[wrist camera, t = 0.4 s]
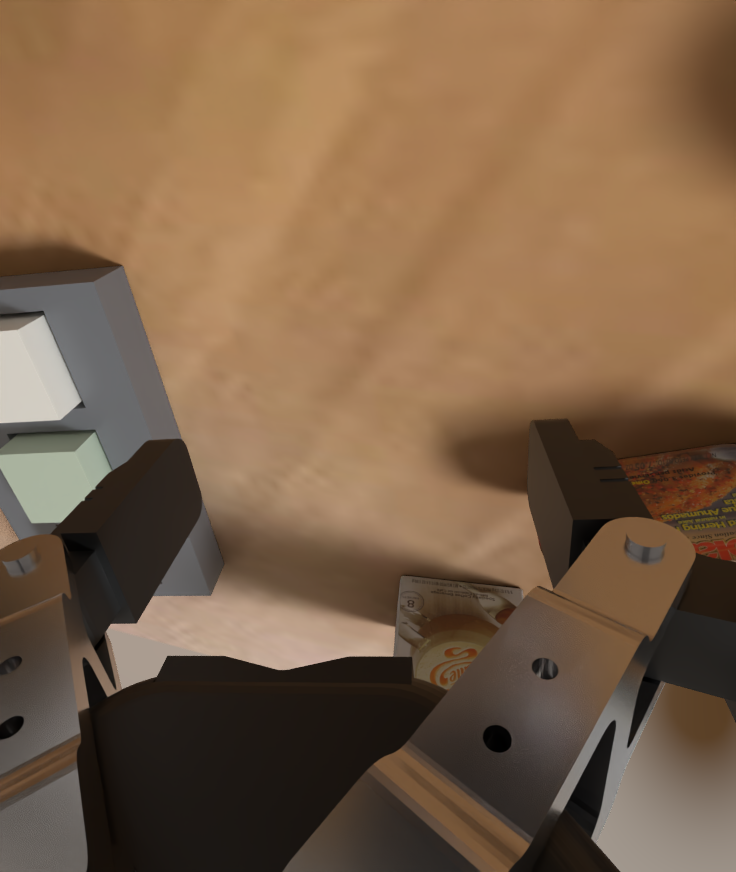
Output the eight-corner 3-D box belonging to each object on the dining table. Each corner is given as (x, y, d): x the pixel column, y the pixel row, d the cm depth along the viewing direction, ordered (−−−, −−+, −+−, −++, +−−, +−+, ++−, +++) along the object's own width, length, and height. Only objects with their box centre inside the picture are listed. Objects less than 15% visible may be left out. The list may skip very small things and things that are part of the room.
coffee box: (525, 584, 38) (582, 849, 25) (508, 641, 42) (551, 900, 28) (398, 572, 39) (386, 826, 25) (391, 629, 42) (378, 879, 29)
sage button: (28, 425, 32) (-8, 455, 30) (104, 421, 32) (75, 451, 29) (61, 490, 35) (31, 523, 32) (132, 488, 34) (108, 521, 32)
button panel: (-78, 283, 30) (-124, 300, 27) (122, 265, 28) (93, 281, 26) (76, 566, 41) (53, 596, 39) (224, 564, 40) (210, 595, 37)
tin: (792, 433, 30) (907, 534, 23) (784, 476, 32) (888, 584, 25) (522, 471, 33) (549, 571, 26) (526, 509, 35) (553, 614, 28)
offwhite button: (-29, 314, 29) (-76, 336, 26) (56, 307, 28) (17, 329, 25) (13, 396, 31) (-26, 424, 29) (91, 392, 31) (60, 420, 28)
